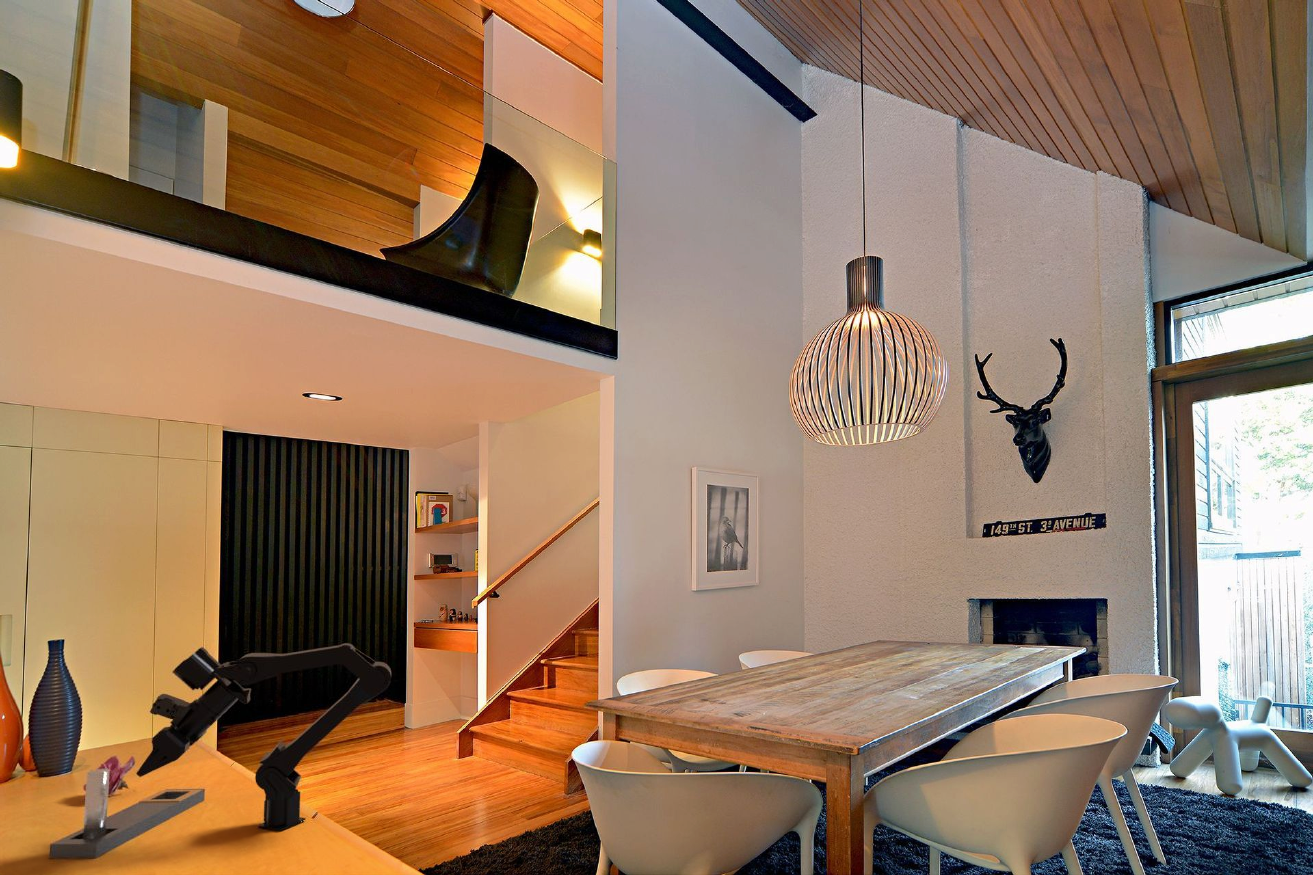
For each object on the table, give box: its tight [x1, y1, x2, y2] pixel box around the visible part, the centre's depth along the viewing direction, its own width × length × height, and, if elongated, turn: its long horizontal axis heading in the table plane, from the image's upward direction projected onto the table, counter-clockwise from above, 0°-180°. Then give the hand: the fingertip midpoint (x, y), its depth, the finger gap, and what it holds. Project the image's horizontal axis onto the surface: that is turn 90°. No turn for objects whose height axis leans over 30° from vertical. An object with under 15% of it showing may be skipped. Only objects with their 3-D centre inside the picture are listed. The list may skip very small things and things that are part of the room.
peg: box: [82, 768, 110, 839], centre depth 153 cm, size 4×4×14 cm
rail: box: [48, 788, 206, 859], centre depth 164 cm, size 33×9×3 cm, turn 178°
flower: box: [83, 755, 136, 801], centre depth 184 cm, size 11×10×10 cm
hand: (145, 768), depth 157 cm, fingers open, 9 cm apart
